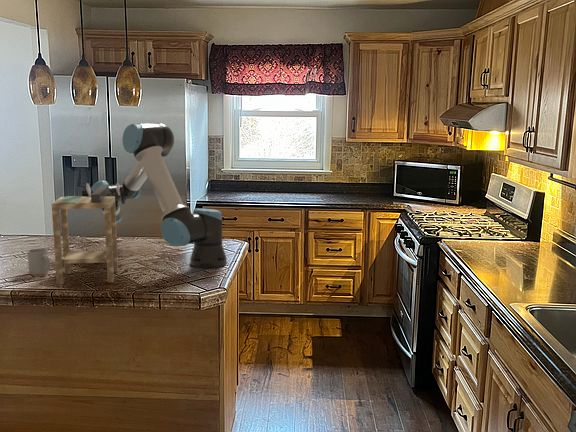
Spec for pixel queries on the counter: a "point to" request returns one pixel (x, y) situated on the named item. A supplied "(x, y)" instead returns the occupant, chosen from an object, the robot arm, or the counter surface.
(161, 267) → the counter surface
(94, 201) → the grey square bar
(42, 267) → the cup
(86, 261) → the stand
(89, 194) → the robot arm
